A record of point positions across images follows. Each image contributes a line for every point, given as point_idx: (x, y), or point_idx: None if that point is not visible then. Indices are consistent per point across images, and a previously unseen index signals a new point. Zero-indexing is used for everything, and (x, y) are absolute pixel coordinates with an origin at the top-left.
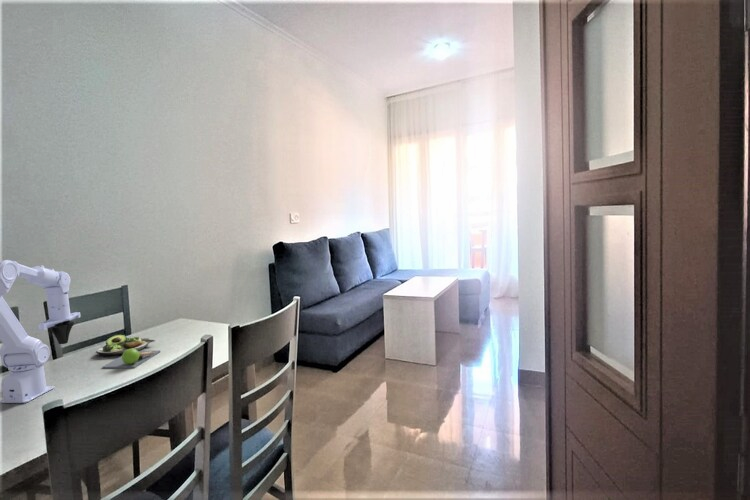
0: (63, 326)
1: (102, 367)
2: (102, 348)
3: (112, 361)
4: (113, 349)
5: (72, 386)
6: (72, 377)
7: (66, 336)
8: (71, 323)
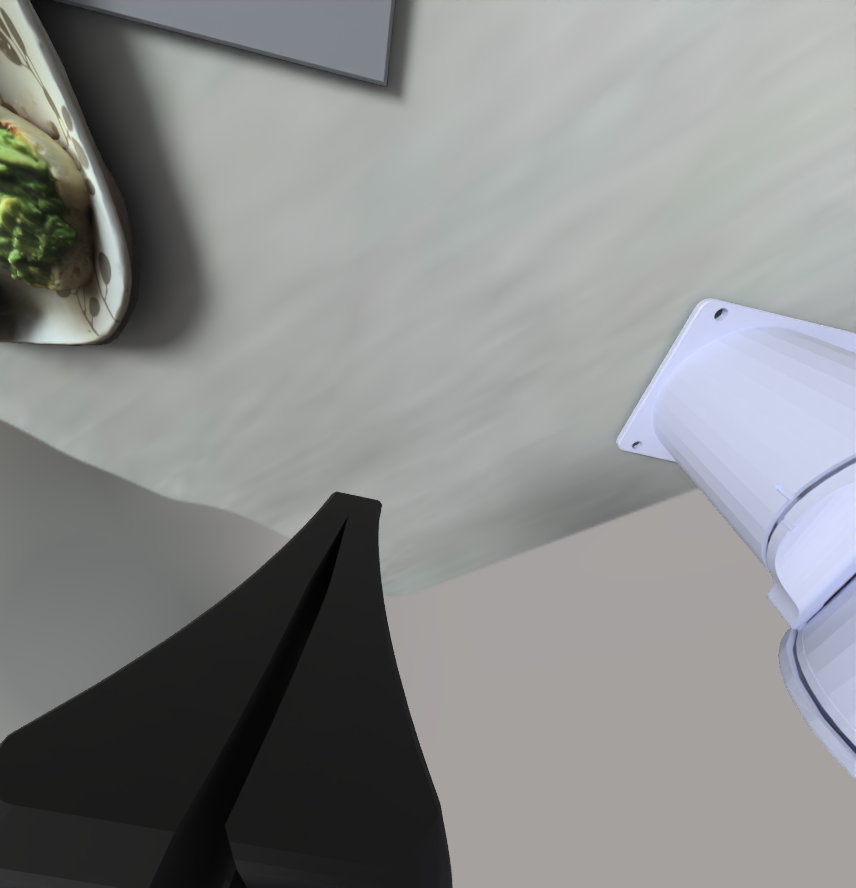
0: (408, 879)
1: (385, 80)
2: (40, 331)
3: (249, 37)
4: (39, 151)
5: (753, 150)
6: (526, 277)
7: (323, 559)
8: (63, 830)
